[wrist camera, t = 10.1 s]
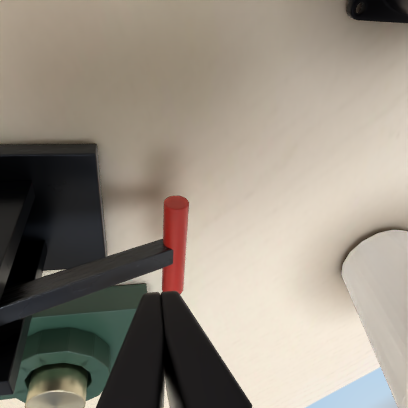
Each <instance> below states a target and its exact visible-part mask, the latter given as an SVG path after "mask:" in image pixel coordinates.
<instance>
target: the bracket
mask: <svg viewBox="0 0 408 408" xmlns="http://www.w3.org/2000/svg"><path fill="white" fill-rule="evenodd" d="M104 257H107V246H106V235H105V224H104V213H103V202H102V191H101V181H100V170H99V159H98V148H97V144H19V145H0V300H1V297H2V294H3V291H4V289H6V288H10V287H13V286H16V285H19V284H22V283H25V282H28V281H32V280H35V279H38V278H41V277H42V273H43V271H46V270H62V269H69V268H72V267H76V266H79V265H82V264H85V263H88V262H91V261H94V260H98V259H101V258H104ZM31 319H32V315H30V316H27V317H24V318H22V319H19V320H16V321H13V322H10V323H8V324H5V325H2V326H0V346H1V348H0V396H4V395H12V394H13V393H14V390H15V386H16V382H17V377H18V373H19V369H20V365H21V361H22V357H23V352H24V348H25V344H26V340H27V336H28V331H29V327H30V323H31Z"/></svg>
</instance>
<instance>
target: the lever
mask: <svg viewBox="0 0 408 408" xmlns="http://www.w3.org/2000/svg"><path fill="white" fill-rule="evenodd" d="M188 211H189V202H188V200H187V199H186V198H184V197H182V196H170V197H168V198H166V199H165V201H164V219H163V239H160V240H157V241H154V242H151V243H148V244H145V245H141V246H138V247H135V248H132V249H129V250H126V251H123V252H120V253H116V254H113V255H110V256H107V257H104V258H101V259H98V260H94V261H91V262H88V263H85V264H82V265H79V266H76V267H72V268H69V269H66V270H63V271H60V272H57V273H54V274H50V275H47V276H44V277H41V278H38V279H35V280H32V281H28V282H25V283H22V284H19V285H16V286H13V287H10V288H6V289H4V291H3V294H2V297H1V300H0V326H2V325H5V324H8V323H10V322H13V321H16V320H19V319H22V318H24V317H27V316H30V315H33V314H36V313H38V312H41V311H44V310H47V309H49V308H52V307H55V306H58V305H61V304H63V303H66V302H69V301H72V300H75V299H77V298H80V297H83V296H86V295H88V294H91V293H94V292H97V291H100V290H102V289H105V288H108V287H111V286H114V285H116V284H119V283H122V282H125V281H127V280H130V279H133V278H136V277H139V276H141V275H144V274H147V273H150V272H153V271H155V270H158V269H161V268H162V290H163V292H165V291H177V292H178V293H179V294H181V293H182V291H183V285H184V270H185V255H186V241H187V226H188ZM0 348H1V346H0Z"/></svg>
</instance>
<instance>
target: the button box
mask: <svg viewBox="0 0 408 408" xmlns="http://www.w3.org/2000/svg"><path fill="white" fill-rule="evenodd" d="M145 293H147V286H146V284H136V285H123V286H111V287H108V288H105V289H102V290H100V291H97V292H94V293H91V294H88V295H86V296H83V297H80V298H77V299H75V300H72V301H69V302H66V303H63V304H61V305H58V306H55V307H52V308H49V309H47V310H44V311H41V312H38V313H36V314H33V315H32V319H31V323H30V327H29V331H28V336H27V340H26V344H25V348H24V352H23V357H22V361H21V365H20V369H19V373H18V377H17V382H16V386H15V390H14V393H13V394H12V395H4V396H0V400H3V399H12V398H17V399H19V400H21V401H22V402H24V403H26V398H27V393H28V389H29V384H30V379H31V375H32V373H33V371H34V370H35V369H36V368H39V367H41V366H43V365H47V364H56V363H69V364H74V365H79V366H82V367H83V368H85V369H86V371H87V374H88V378H87V391H86V401H87V400H90V399H92V398H94V397H96V396H98V395H100V393H101V392H102V391H103V389H104V387H105V385H106V382H107V380H108V377H109V375H110V372H111V370H112V368H113V365H114V363H115V360H116V358H117V356H118V353H119V351H120V348H121V346H122V343H123V341H124V339H125V336H126V334H127V331H128V329H129V327H130V324H131V322H132V319H133V317H134V314H135V312H136V310H137V307H138V305H139V302H140V300H141V297H142V296H143V294H145Z"/></svg>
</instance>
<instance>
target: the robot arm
mask: <svg viewBox="0 0 408 408" xmlns="http://www.w3.org/2000/svg"><path fill="white" fill-rule="evenodd" d="M359 3H361V4H362V5H361V9H360V11H359V12H358V13H356V7H357V5H358V4H359ZM347 14H348V16H349V17H350V18H353V19H356V20H364V21H380V22H397V23H408V0H349V1H348V5H347ZM165 383H166V389H167V395H168V400H169V406H170V408H252V404H251V403H250V401H249V400H248V398H247V397H246V395H245V393H244V392H243V390H242V389H241V387H240V386H239V384H238V383H237V381H236V380H235V378H234V377H233V375H232V374H231V372H230V370H229V369H228V367H227V366H226V364H225V363H224V361H223V360H222V358H221V357H220V355H219V354H218V352H217V351H216V349H215V348H214V346H213V344H212V343H211V341H210V340H209V338H208V337H207V335H206V334H205V332H204V331H203V329H202V328H201V326H200V325H199V323H198V322H197V320H196V318H195V317H194V315H193V314H192V312H191V311H190V309H189V308H188V306H187V305H186V303H185V302H184V300H183V299H182V297H181V296H180V294H179V293H178V292H177V291H165V292H162V293H161V296H160V293H158V292H153V293H145V294H143V296H142V297H141V300H140V302H139V305H138V307H137V310H136V312H135V314H134V317H133V319H132V322H131V324H130V327H129V329H128V331H127V334H126V336H125V339H124V341H123V343H122V346H121V348H120V351H119V353H118V356H117V358H116V360H115V363H114V365H113V368H112V370H111V372H110V375H109V377H108V380H107V382H106V385H105V387H104V389H103V392H102V394H101V397H100V399H99V401H98V404H97V406H96V408H164V387H165Z"/></svg>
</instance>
